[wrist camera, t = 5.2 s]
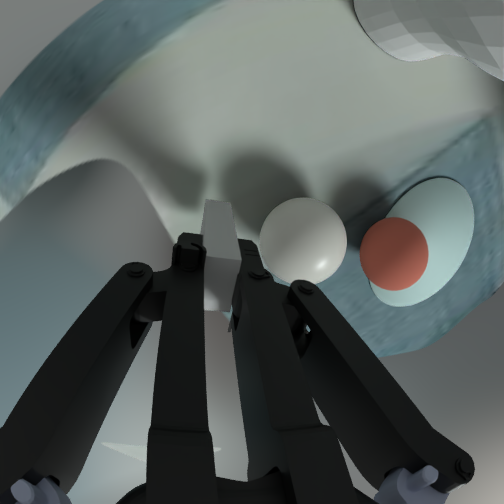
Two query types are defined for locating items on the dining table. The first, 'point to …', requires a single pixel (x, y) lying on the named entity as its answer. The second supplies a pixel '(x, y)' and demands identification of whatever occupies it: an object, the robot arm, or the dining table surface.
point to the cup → (437, 29)
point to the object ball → (394, 253)
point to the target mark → (434, 235)
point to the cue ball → (303, 240)
